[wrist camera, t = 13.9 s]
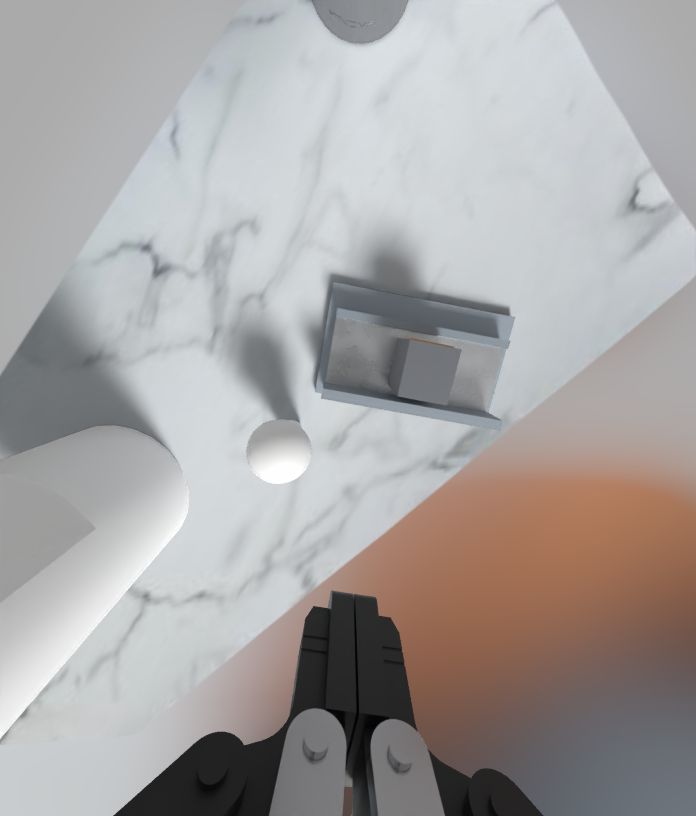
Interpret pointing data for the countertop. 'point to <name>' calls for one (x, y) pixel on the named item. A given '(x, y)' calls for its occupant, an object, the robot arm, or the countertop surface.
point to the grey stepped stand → (419, 319)
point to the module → (423, 370)
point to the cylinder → (75, 545)
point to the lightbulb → (279, 451)
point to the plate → (374, 352)
